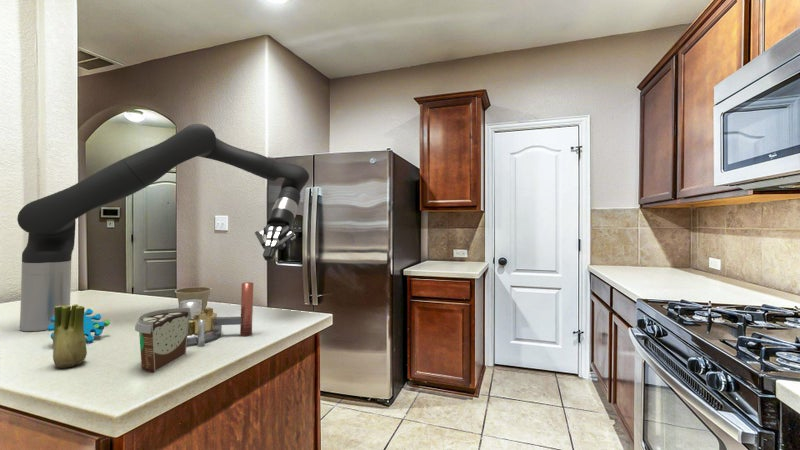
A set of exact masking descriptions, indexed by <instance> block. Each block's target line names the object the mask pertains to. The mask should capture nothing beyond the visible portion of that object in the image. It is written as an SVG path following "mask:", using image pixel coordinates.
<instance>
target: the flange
mask: <svg viewBox="0 0 800 450" xmlns="http://www.w3.org/2000/svg"><path fill="white" fill-rule="evenodd" d="M180 308H190V311H191V317H189V320H196V315H198V314H201V309H202V300H198V299H191V300H184V301H181V302H180ZM222 326H223V325H216V327H215V328H214V329H213V330H211V331H207V332H205V319H200V320H198V334H192V335H187V346H186V347H192V346H193V347H194V346H197V347H198V348H199V347H204V346H205V344H207V343H210V342H213V341H216V340H217V339H219V338H220V337H221V336H222V331H223V330H222Z"/></svg>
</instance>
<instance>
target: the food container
mask: <svg viewBox="0 0 800 450" xmlns="http://www.w3.org/2000/svg"><path fill="white" fill-rule="evenodd" d="M189 317H191V311H190V308H179V307H174V308H165V309H164V308H163V309H159V310H153V311H150V312H146V313H143V314H142V315H140V316H138V319H137V320H136V323H135V327H134V331H136V332H138V333H139V335H138V336H139V348H140V350H139V351H140V361H141V362H140V363H141V370H142V371H143V372H144V371H145V372H147V373H154V374H155V373H156V372H158V371H160V370H162V369H163V368H165V367H167V366H168V365H170V364H172V363H174V362H175V360H176V361H177V360H179V359H181V358H182V357H184V356H186V355H187V347H188V346H187V335H188V325H189Z"/></svg>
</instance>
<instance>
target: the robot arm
mask: <svg viewBox="0 0 800 450" xmlns="http://www.w3.org/2000/svg"><path fill="white" fill-rule="evenodd" d="M196 157H200V158H203V159H209V160H212V161H217V162H220V163H223V164H226V165H230V166H233V167H235V168H238V169H241V170H242V171H244V172H247V173H250V174H252V175H254V176H257V177H260V178H262V179H265V180H268V181H271V182H275V181H277V180H278V179H281V178H282V179H283V181H282V183H281V185H280V192H279V194H278V195H277V198H276V201H275V203H274V205H273V206H272V209H271V212H270V214H269V217H268V219H267V222H266V225H265V226H264V227H263V230H260V231H258V230H257V231H255V232H254V235H255V236H256V238H257V240H258V241H259V245H261V247H262V249H263V253H262V257H263V259H264V260H265V261H266V262H267V261H269V262H270V261H272V260H273V259H274V257H275V255H276V253H277V251H278V250H281V251H282V250H284V249H285V248H286V247H288V246H289V245H290V244H292V243H293V242H294V241H296V240H297V237H296V234H295V232H294V231H292V228H293V225H294V222H295V219H296V217H297V211H298V208H299V204H300V201H301V192H302V190H303V188H304V187H305V185H306V184H307V183H308V181H309V180H310V174H309V172H308V171H307V169H306V168H304V167H303V166H301V165H298V164H293V163H289V162H283V161H282V162H281V161H277V160H274V159H272V158H270V157H268V156H265V155H262V154H260V153H257V152H253V151H249V150H247V149H243V148H239V147H236V146H233V145H230V144H228V143H227V142H224V141H223V140H221V139H219V138H218V137H217V136H216V134H215V131H214V130H213V129H212V128H211V127H209V126H208V125H205V124H203V123H194V124H190V125H187V126H185V127H184V128H183V129H181V130H180V131H178V132H177V133H175V134H173V135H172V136H170V137H168V138H167V139H165V140H162V141H161V142H159V143H157V144H155V145H153V146H150V147H147V148H145V149H142V150H140V151H138V152H134V153H133V154H131V155H128V156H126V157H124V158H122V159H120V160H118V161H116V162H113V163H111V164H110V165H108V166H106V167H103V168H102V169H101V170H97V171H96V172H95V173H93V174H91V175H89V176H87V177H86V178H84V179H82V180H81V181H79V182H77V183H75V184H73V185H70V186H69V187H67V188H65V189H62V190H60V191H57V192H54V193H52V194H48V195H47V196H44V197H40V198H38V199H36V200H33V201H30V202H29V203H27V204H26V205H23V207H22V208H21V209H20V210H19V212H18V215H17V218H16V219H17V225H18V226H19V228H21V230H23V231H24V232H26V233H28V237H27V244H26V246H25V248H24V250H23V251H22V253H21V278H20V279H21V281H20V282H21V283H20V284H21V285H20V315H19V330H20V331H23V332H38V331H40V332H41V331H47V329H48V326H49V325H50V324H54V322H51V321H50V320H51V318H52V317H54V316H55V311H54V310H55V306H61V305H63V306H68V305H70V306H71V288H72V287H71V285H72V281H71V280H72V255H73V251H74V249H75V238H76V227H77V225H76V220H77V219H79V218H81V216H84V215H85V214H87V213H89V212H90V211H92V210H94V209H97V208H99V207H102V206H105V205H108V204H111V203H114V202H116V201H119V200H122V199H125V198H126V197H129V196H131V195H135V194H136V193H137V192H139V191H141V190H143V189H145V188H147V187H149V186H151V185H152V184H153V183H155V182H157V181H158V180H159V179H161V178H163V176H165V175H166V174H167V173H168V172H170V171H172V170H173V169H174V168H176V167H177V166H179V165H180V164H182V163H185V162H187V161H189V160H191V159H194V158H196ZM265 237H266V240H265V241H266V242H265V241H264V239H265Z"/></svg>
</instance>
